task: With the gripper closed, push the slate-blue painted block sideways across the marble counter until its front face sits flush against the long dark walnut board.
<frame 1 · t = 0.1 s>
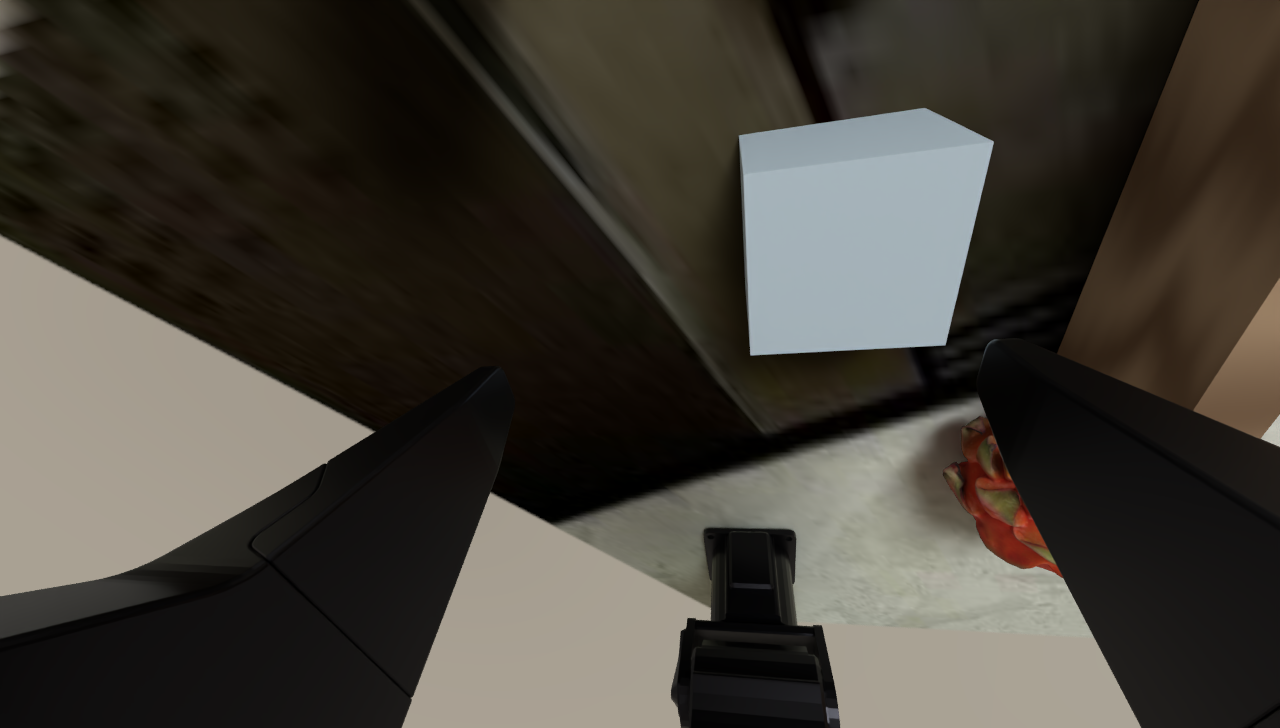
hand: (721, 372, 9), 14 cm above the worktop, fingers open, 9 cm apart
slate block: (823, 208, 21), on the worktop
walnut board: (1186, 129, 18), on the worktop
dragon fruit: (1024, 439, 27), on the worktop
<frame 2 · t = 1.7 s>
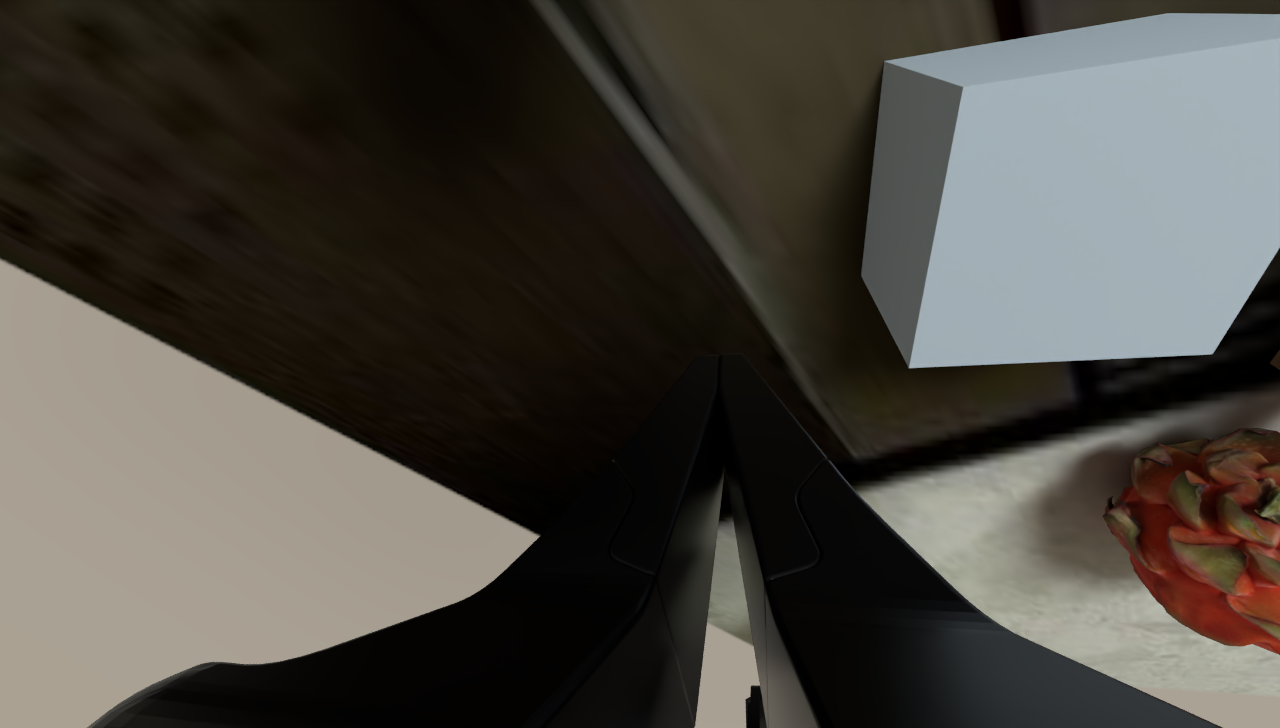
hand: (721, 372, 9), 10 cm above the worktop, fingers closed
slate block: (986, 166, 16), on the worktop
dragon fruit: (1193, 469, 22), on the worktop
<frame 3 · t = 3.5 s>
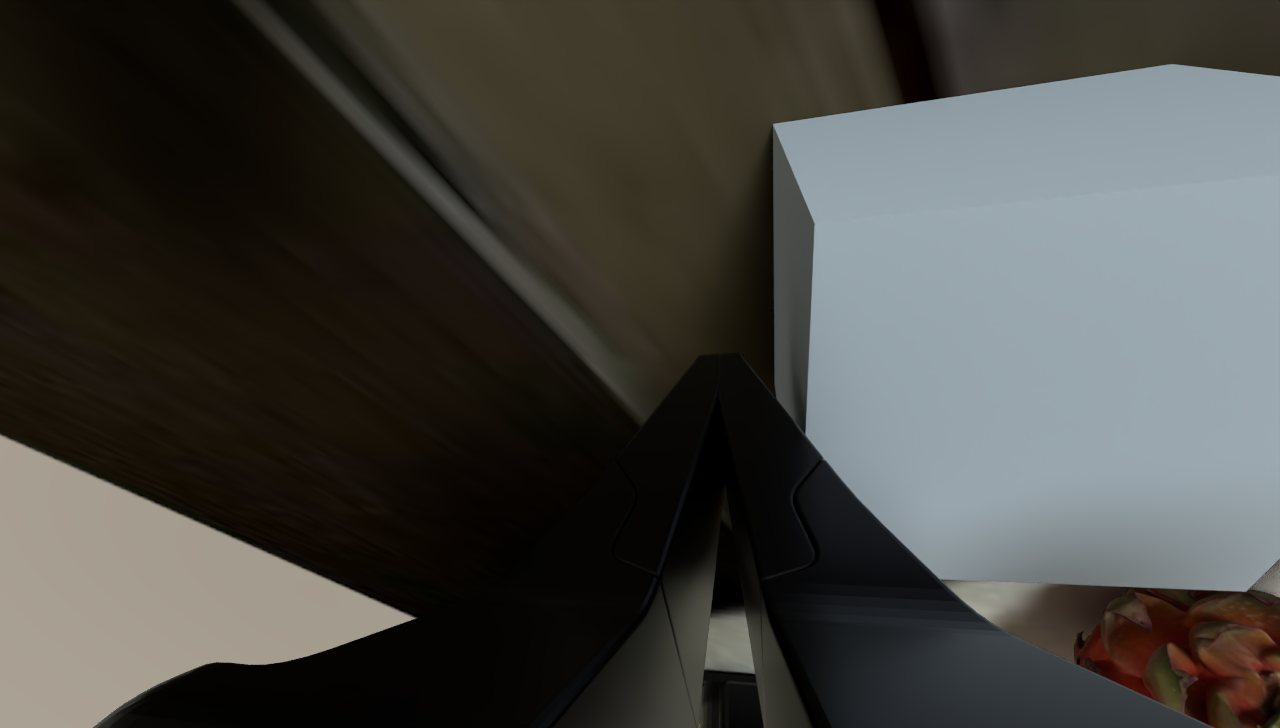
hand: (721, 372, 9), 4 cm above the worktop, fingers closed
slate block: (926, 261, 11), on the worktop, touching gripper
dragon fruit: (1180, 604, 18), on the worktop
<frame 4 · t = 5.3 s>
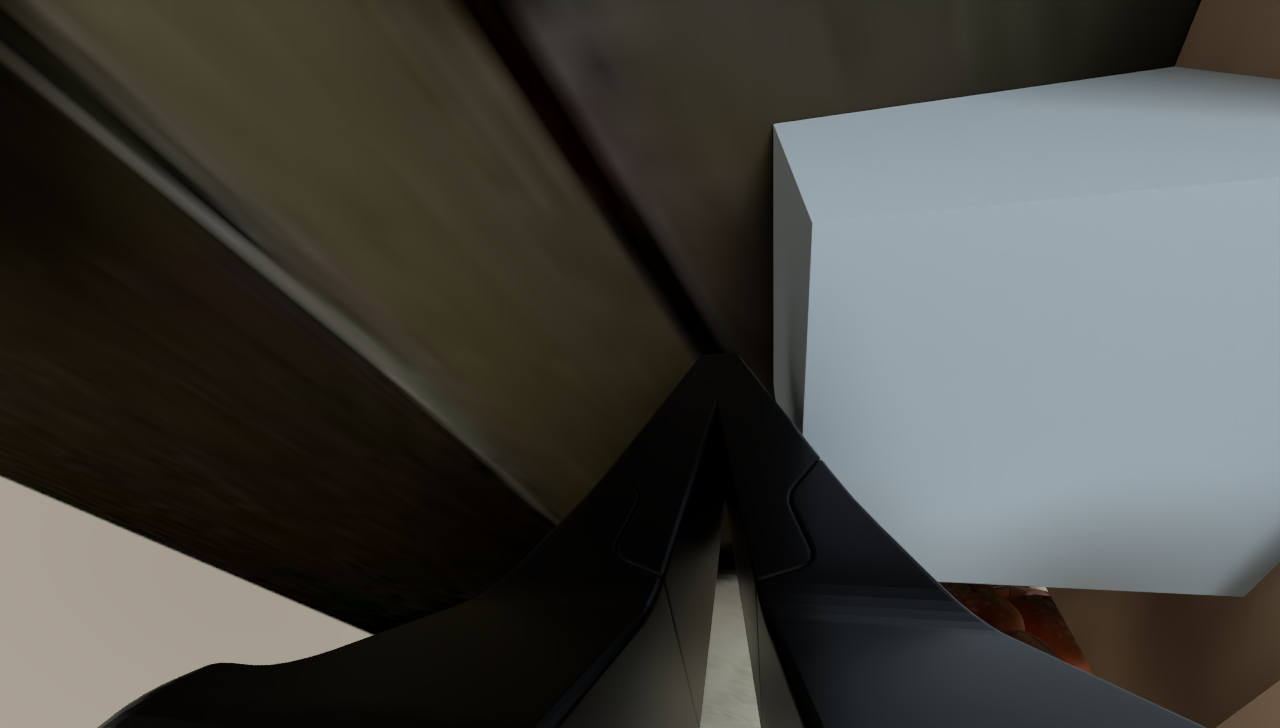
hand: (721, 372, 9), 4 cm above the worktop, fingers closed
slate block: (926, 263, 11), on the worktop, touching gripper, walnut board
walnut board: (1201, 175, 10), on the worktop
dragon fruit: (963, 595, 19), on the worktop
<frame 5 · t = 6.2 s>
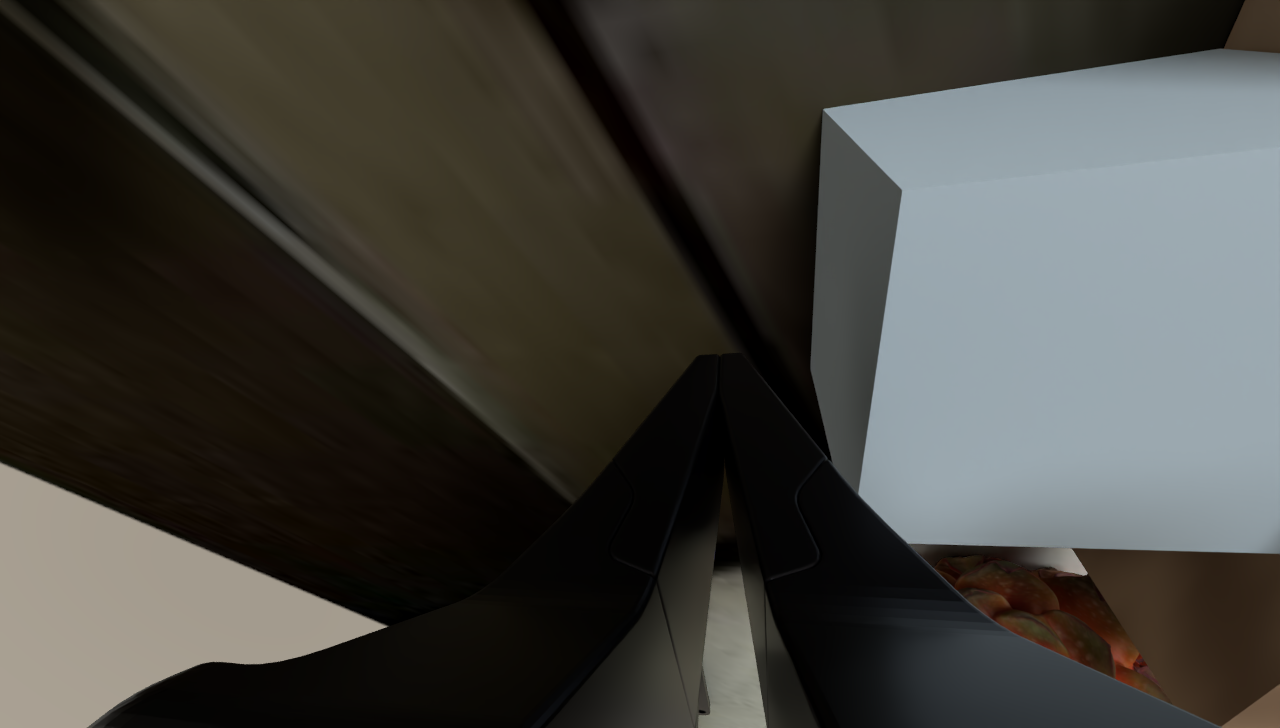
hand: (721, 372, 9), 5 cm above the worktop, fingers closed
slate block: (965, 244, 12), on the worktop
walnut board: (1245, 156, 10), on the worktop
dragon fruit: (990, 579, 19), on the worktop
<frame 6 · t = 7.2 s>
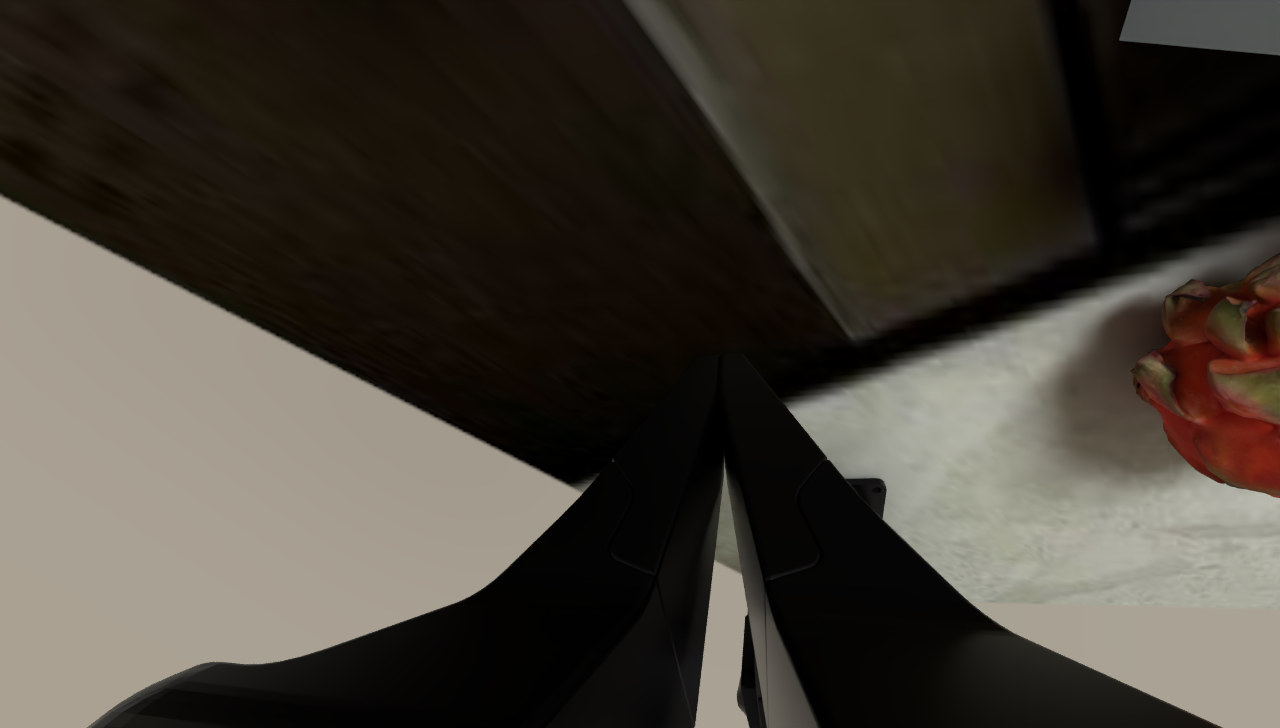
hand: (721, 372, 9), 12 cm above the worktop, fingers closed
dragon fruit: (1232, 325, 19), on the worktop
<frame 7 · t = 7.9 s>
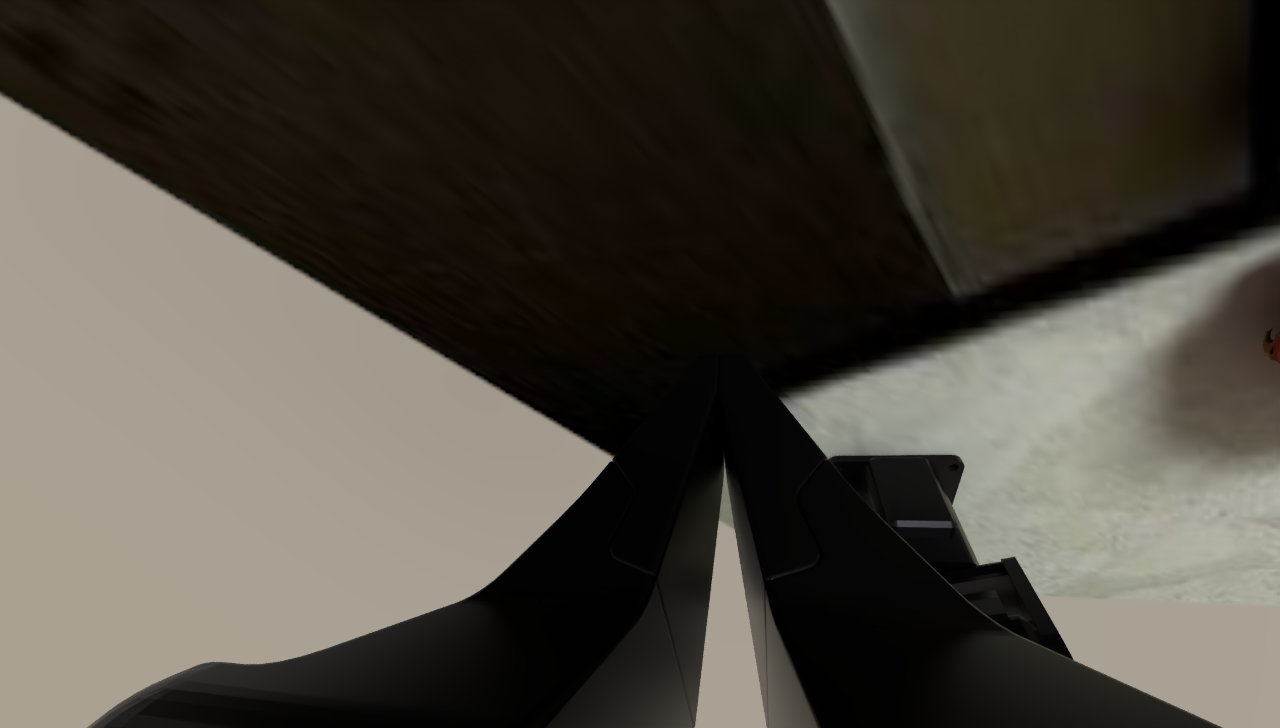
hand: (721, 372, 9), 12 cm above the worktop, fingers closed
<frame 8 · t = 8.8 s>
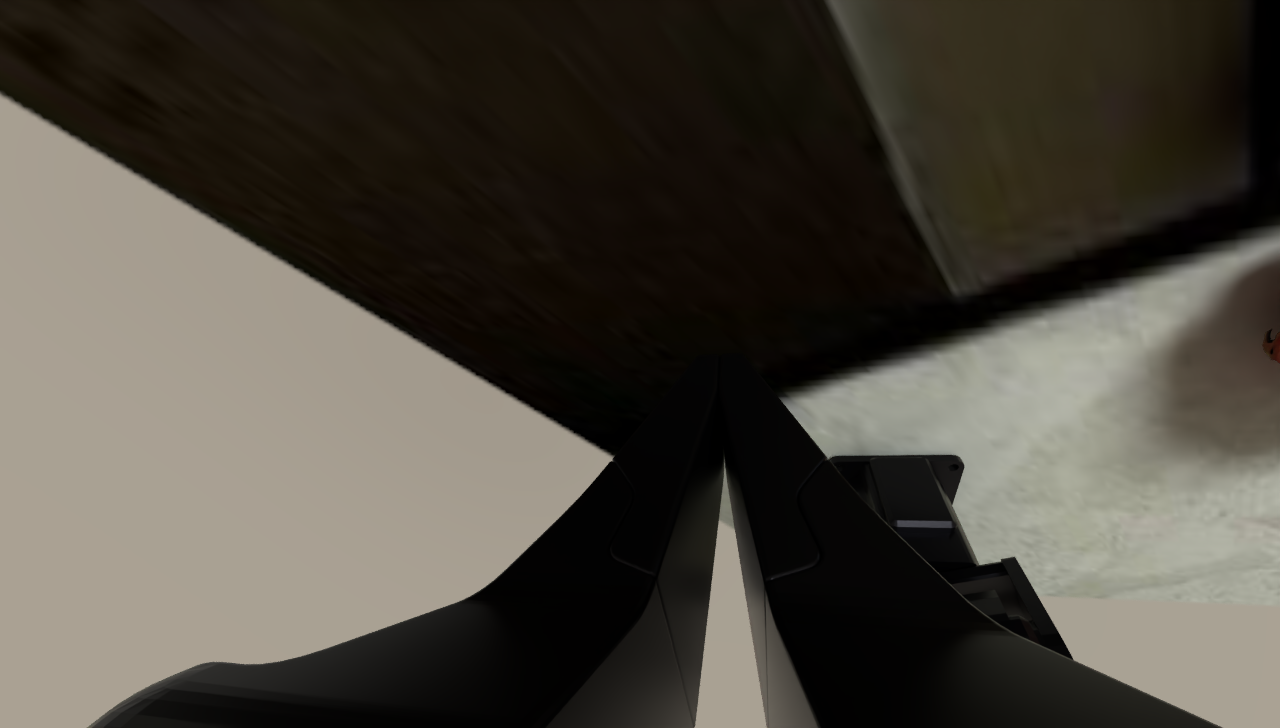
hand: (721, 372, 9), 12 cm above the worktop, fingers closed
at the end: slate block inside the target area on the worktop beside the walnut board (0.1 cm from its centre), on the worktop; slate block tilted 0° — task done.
